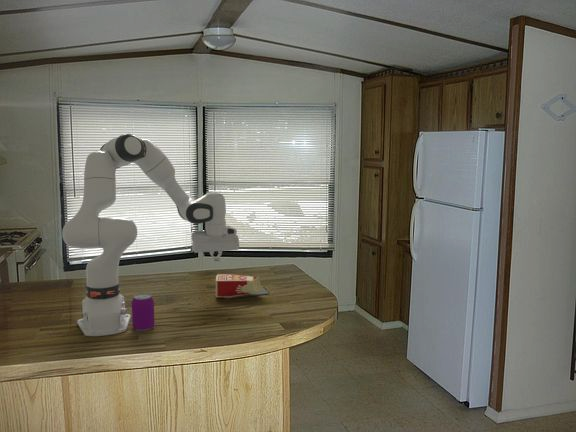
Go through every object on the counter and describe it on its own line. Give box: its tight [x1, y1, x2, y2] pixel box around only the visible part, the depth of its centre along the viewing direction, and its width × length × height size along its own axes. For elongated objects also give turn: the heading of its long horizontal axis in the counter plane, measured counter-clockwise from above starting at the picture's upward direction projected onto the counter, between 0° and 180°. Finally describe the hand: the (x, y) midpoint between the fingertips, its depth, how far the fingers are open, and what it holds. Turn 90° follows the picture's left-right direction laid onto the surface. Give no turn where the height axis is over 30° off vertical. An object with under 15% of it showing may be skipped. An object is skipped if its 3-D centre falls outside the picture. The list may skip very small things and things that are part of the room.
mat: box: [223, 285, 270, 299], centre depth 235 cm, size 16×20×1 cm
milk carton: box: [215, 273, 263, 298], centre depth 227 cm, size 9×9×20 cm
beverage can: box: [131, 292, 155, 332], centre depth 189 cm, size 8×8×12 cm
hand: (216, 261), depth 228 cm, fingers closed
